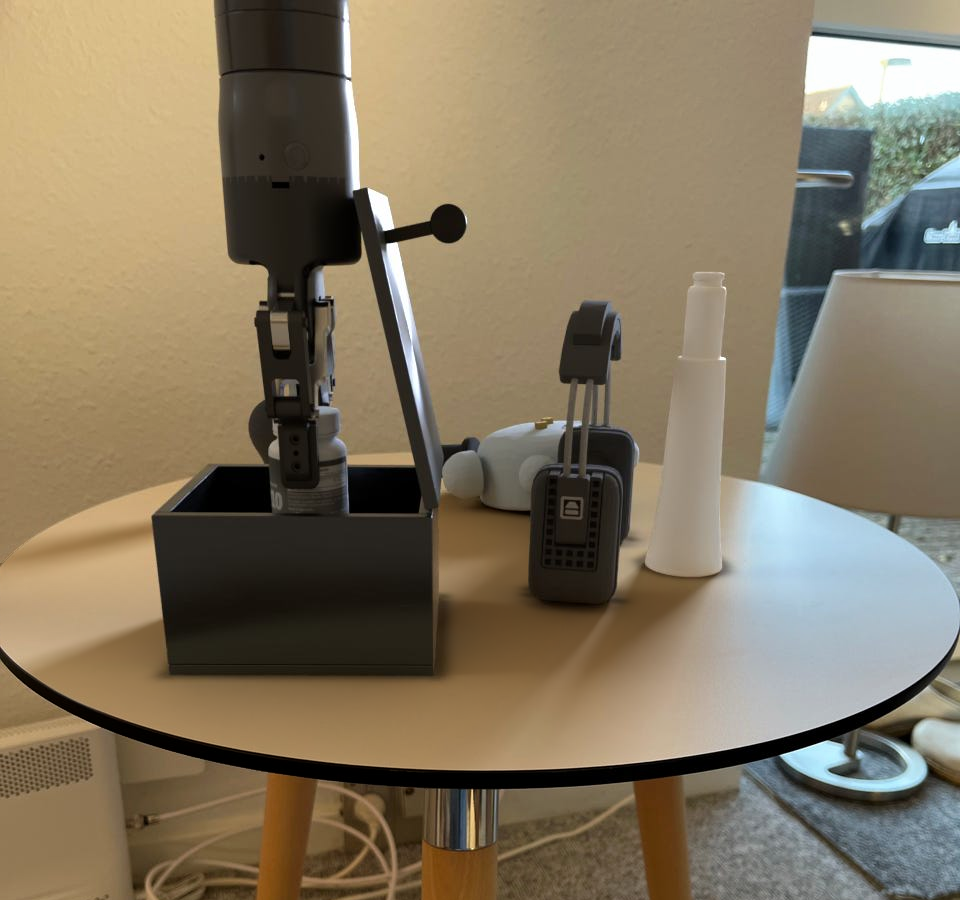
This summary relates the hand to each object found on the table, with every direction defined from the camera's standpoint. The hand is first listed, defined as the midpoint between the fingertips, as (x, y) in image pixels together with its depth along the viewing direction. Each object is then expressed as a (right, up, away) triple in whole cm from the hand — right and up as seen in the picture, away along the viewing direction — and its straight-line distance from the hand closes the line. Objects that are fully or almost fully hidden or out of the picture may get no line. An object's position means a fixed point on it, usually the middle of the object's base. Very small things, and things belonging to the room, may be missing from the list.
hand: (307, 476), depth 62 cm
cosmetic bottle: (+27, -4, +18) cm, 33 cm away
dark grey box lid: (+6, +7, -3) cm, 10 cm away
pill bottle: (0, -4, +2) cm, 5 cm away
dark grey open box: (0, -10, +4) cm, 11 cm away
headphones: (+19, -4, +18) cm, 27 cm away
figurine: (+15, +3, +38) cm, 41 cm away
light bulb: (-8, +3, +36) cm, 37 cm away
